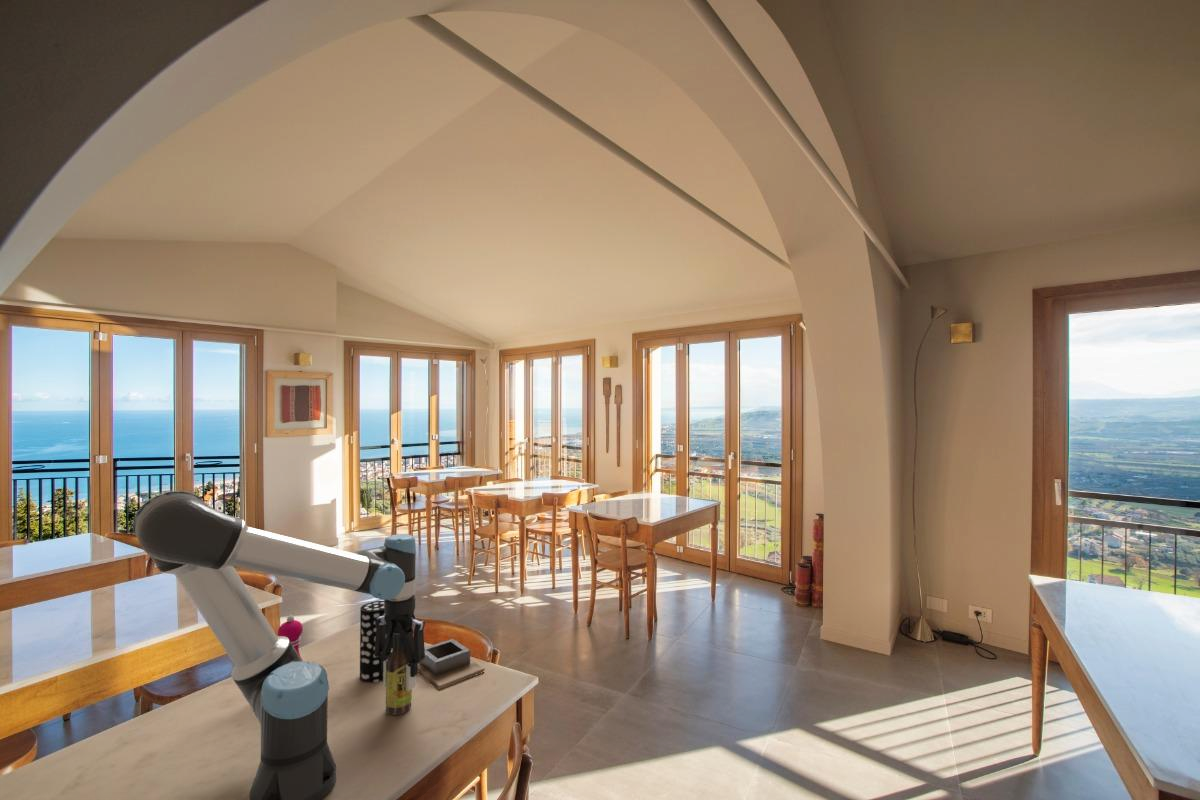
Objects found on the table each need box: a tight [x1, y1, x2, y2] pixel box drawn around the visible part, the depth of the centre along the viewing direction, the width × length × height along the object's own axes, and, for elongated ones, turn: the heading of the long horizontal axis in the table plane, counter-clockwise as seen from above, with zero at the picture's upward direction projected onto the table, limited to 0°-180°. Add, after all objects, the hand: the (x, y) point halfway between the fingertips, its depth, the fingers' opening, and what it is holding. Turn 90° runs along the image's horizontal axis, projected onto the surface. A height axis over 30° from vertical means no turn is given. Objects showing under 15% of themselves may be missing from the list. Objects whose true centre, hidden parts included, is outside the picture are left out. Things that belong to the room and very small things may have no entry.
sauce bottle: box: [385, 632, 413, 716], centre depth 134 cm, size 6×6×20 cm
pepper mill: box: [277, 615, 304, 661], centre depth 145 cm, size 7×7×20 cm
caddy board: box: [418, 658, 485, 690], centre depth 156 cm, size 22×14×1 cm, turn 43°
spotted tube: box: [359, 600, 388, 684], centre depth 152 cm, size 8×8×20 cm
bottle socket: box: [419, 638, 471, 677], centre depth 157 cm, size 11×11×4 cm
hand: (399, 686), depth 134 cm, fingers closed on sauce bottle, 6 cm apart
